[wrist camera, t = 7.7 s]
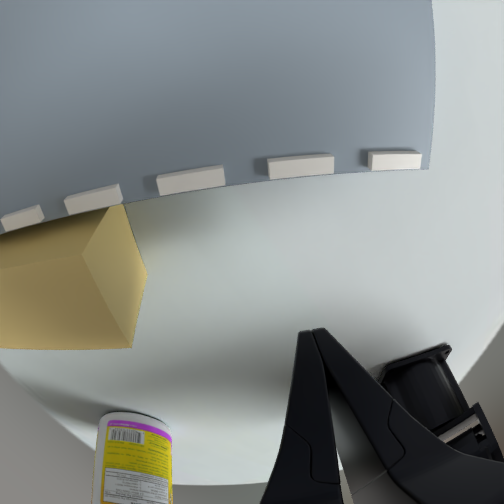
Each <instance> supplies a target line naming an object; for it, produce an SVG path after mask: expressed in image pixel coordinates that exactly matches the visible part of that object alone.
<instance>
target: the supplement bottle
mask: <svg viewBox="0 0 504 504" xmlns="http://www.w3.org/2000/svg"><path fill="white" fill-rule="evenodd" d="M92 486H93V487H92V500H91V504H173V499H172V436H171V431H170V429H169V428H168V426H166V425H165V424H164V423H162V422H161V421H159V420H156V419H154V418H151V417H148V416H145V415H141V414H136V413H130V412H113V413H109V414H106V415H104V416H103V417H102V418H101V419H100V422H99V427H98V434H97V442H96V451H95V461H94V471H93V485H92Z"/></svg>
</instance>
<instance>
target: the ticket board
mask: <svg viewBox="0 0 504 504" xmlns="http://www.w3.org/2000/svg"><path fill="white" fill-rule="evenodd" d="M434 107H435V36H434V21H433V11H432V1H431V0H0V234H3V233H6V232H9V231H13V230H16V229H20V228H24V227H27V226H31V225H35V224H38V223H42V222H46V221H50V220H54V219H58V218H62V217H66V216H70V215H75V214H79V213H83V212H88V211H92V210H97V209H101V208H106V207H111V206H115V205H120V204H125V203H130V202H135V201H140V200H146V199H151V198H156V197H162V196H168V195H173V194H179V193H185V192H191V191H198V190H204V189H211V188H217V187H224V186H231V185H239V184H246V183H254V182H262V181H271V180H279V179H289V178H298V177H308V176H319V175H331V174H344V173H358V172H374V171H394V170H424V169H429V161H430V153H431V144H432V134H433V122H434Z"/></svg>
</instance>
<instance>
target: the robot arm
mask: <svg viewBox="0 0 504 504" xmlns="http://www.w3.org/2000/svg"><path fill="white" fill-rule="evenodd" d="M451 351H452V348H451V347H450V345H446V346H444V347H441V348H438V349H435V350H433V351H430V352H427V353H424V354H421V355H418V356H415V357H412V358H409V359H406V360H402V361H399V362H396V363H393V364H390V365H388V366H386V367H385V368H384V370H383V372H382V374H381V376H380V379H379V381H378V382H377V381H376V380H375V379H374V378H373V377H372V376H371V375H370V374H369V373H368V372H367V371H366V370H365V369H364V368H363V367H362V366H361V365H360V364H359V363H358V362H357V361H356V360H355V359H354V358H353V356H352V355H351V354H350V353H349V352H348V351H347V350H346V349H345V348H344V347H343V346H342V345H341V344H340V343H339V342H338V341H337V340H336V339H335V338H334V337H333V336H332V335H331V334H330V333H329V332H328V331H327V330H326V329H325V328H317V329H312V331H311V330H305V331H300V332H299V333H298V338H297V346H296V353H295V360H294V367H293V374H292V381H291V387H290V394H289V400H288V406H287V412H286V418H285V426H284V429H283V434H282V439H281V444H280V448H279V452H278V455H277V458H276V462H275V465H274V468H273V470H272V473H271V476H270V478H269V481H268V483H267V486H266V488H265V491H264V494H263V496H262V499H261V501H260V503H259V504H344V503H343V498H342V492H341V485H340V475H339V466H338V458H337V451H338V454H339V457H340V460H341V463H342V467H343V470H344V473H345V476H346V479H347V483H348V486H349V489H350V492H351V494H352V499H353V502H354V504H504V458H503V456H502V453H501V450H500V448H499V445H498V443H497V440H496V438H495V436H494V434H493V432H492V429H491V427H490V425H489V423H488V421H487V419H486V417H485V415H484V413H483V411H482V409H481V407H480V405H479V403H478V402H477V403H475V404H474V405H473V407H471V408H469V406H468V404H467V402H466V400H465V398H464V396H463V394H462V391H461V389H460V388H459V385H458V384H457V382H456V380H455V378H454V376H453V374H452V372H451V370H450V368H449V366H448V364H447V363H446V361H445V360H446V359H447V357H448V355H449V354H450V352H451ZM477 419H478V422H479V424H478V425H476V426H475V427H473V428H470V429H468V430H467V431H465V432H463V433H462V434H460V435H459V436H457V437H455V438H454V439H452V440H450V441H449V442H447V443H444V442H443V441H444V440H445V439H447V438H449V437H451V436H452V435H454V434H455V433H457V432H459V431H460V430H462V429H464V428H465V427H467V426H468V425H470V424H471V423H473V422H474V421H476V420H477ZM483 434H484V435H483ZM482 435H483V436H482ZM336 448H337V450H336Z"/></svg>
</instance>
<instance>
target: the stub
mask: <svg viewBox="0 0 504 504" xmlns="http://www.w3.org/2000/svg"><path fill="white" fill-rule="evenodd" d="M146 279H147V272H146V269H145V267H144V264H143V261H142V258H141V256H140V253H139V250H138V247H137V245H136V242H135V239H134V236H133V233H132V230H131V227H130V224H129V221H128V218H127V215H126V212H125V209H124V205H123V204H120V205H115V206H111V207H106V208H101V209H97V210H92V211H88V212H83V213H79V214H75V215H70V216H66V217H62V218H58V219H54V220H50V221H46V222H42V223H38V224H35V225H31V226H27V227H24V228H20V229H16V230H13V231H9V232H6V233H3V234H0V348H8V349H35V350H90V349H119V348H132V343H133V338H134V333H135V328H136V323H137V318H138V314H139V309H140V304H141V300H142V296H143V291H144V287H145V283H146Z"/></svg>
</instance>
